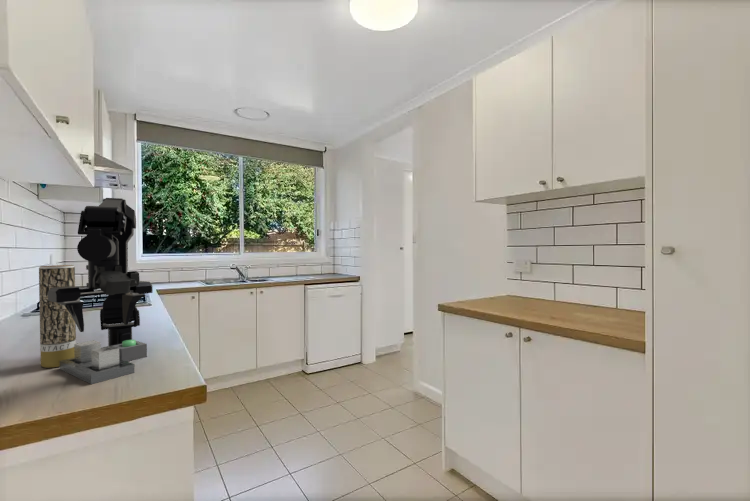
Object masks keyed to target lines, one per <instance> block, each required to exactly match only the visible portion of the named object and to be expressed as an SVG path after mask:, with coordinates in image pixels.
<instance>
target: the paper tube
mask: <svg viewBox="0 0 750 501" xmlns="http://www.w3.org/2000/svg"><path fill="white" fill-rule="evenodd" d="M75 272H76V266H75V265H74V264H59V265H58V264H57V265H56V264H55V265H53V264H52V265H40V266H38V290H39V292H38V293H39V297H38V298H39V343H40V344H39V346H40V349H39V350H40V351H39V352H40V366H41V368H45V369H47V368H48V369H52V368H58V367H59V361H61V360H66V359H71V358H74V344H76V343H77V331H76V330H77V328H76V327H77V325H76V323H75V321H74V320H73V318H72V316H71V314H70V313H69V311H68V310H67V309H66V307H65V306H64V305H60V304H58V303H56V302H52V301H48V291H49V290H50V289H51V288H55V287H68V286H73V287H76V281H75V280H76V275H75V274H76V273H75Z"/></svg>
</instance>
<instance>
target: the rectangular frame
mask: <svg viewBox="0 0 750 501" xmlns="http://www.w3.org/2000/svg"><path fill="white" fill-rule="evenodd" d="M59 370H60V371H63V372H65V373H67V374H69V375H71V376H74V377H75V378H77V379H79V380H81V381H84V382H86V383H88V384H89V385H94V384H97V383H101V382H104V381H108V380H111V379H116V378H120V377H123V376H124V377H125V376H127V375H131V374H134V373H135V363H132V362H131V361H124V360H121V359H119V366H117V367H113V368H109V369H105V370H101V371H97V372H96V371H93V370H92V361H90V362H85V363H81V364H77V363H75V361H74V358H71V359H66V360H61V361H59Z"/></svg>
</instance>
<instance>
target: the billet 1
mask: <svg viewBox="0 0 750 501" xmlns="http://www.w3.org/2000/svg"><path fill="white" fill-rule="evenodd" d="M101 345H102V344H101V342H100V341H97V340H95V339H94V340H89V341H88V340H87V341H82V342H79V343H77V342H76V344H74V361H75V363H77V364H81V363H85V362H90V361H92V356H91V350H94V349H98V348H102V346H101Z"/></svg>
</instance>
